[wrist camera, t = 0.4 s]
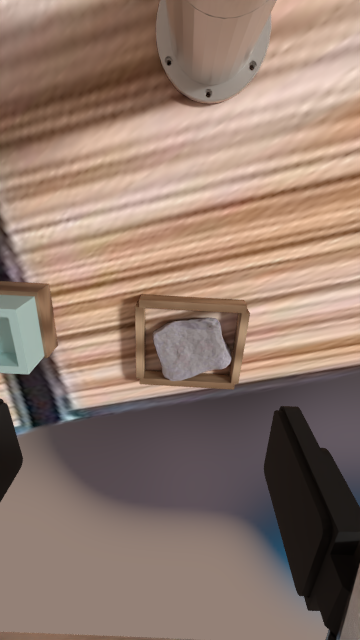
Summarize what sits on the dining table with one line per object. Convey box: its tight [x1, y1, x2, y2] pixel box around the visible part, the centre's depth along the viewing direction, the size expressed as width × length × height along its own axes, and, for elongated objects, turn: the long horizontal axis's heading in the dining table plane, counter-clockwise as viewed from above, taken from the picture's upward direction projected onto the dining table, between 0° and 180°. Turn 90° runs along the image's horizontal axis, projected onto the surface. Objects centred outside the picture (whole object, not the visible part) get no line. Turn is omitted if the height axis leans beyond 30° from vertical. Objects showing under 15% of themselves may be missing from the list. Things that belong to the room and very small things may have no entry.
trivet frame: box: [135, 294, 250, 389], centre depth 48 cm, size 15×17×2 cm
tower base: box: [0, 281, 58, 358], centre depth 46 cm, size 11×11×4 cm
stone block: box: [153, 318, 232, 381], centre depth 48 cm, size 12×5×10 cm
